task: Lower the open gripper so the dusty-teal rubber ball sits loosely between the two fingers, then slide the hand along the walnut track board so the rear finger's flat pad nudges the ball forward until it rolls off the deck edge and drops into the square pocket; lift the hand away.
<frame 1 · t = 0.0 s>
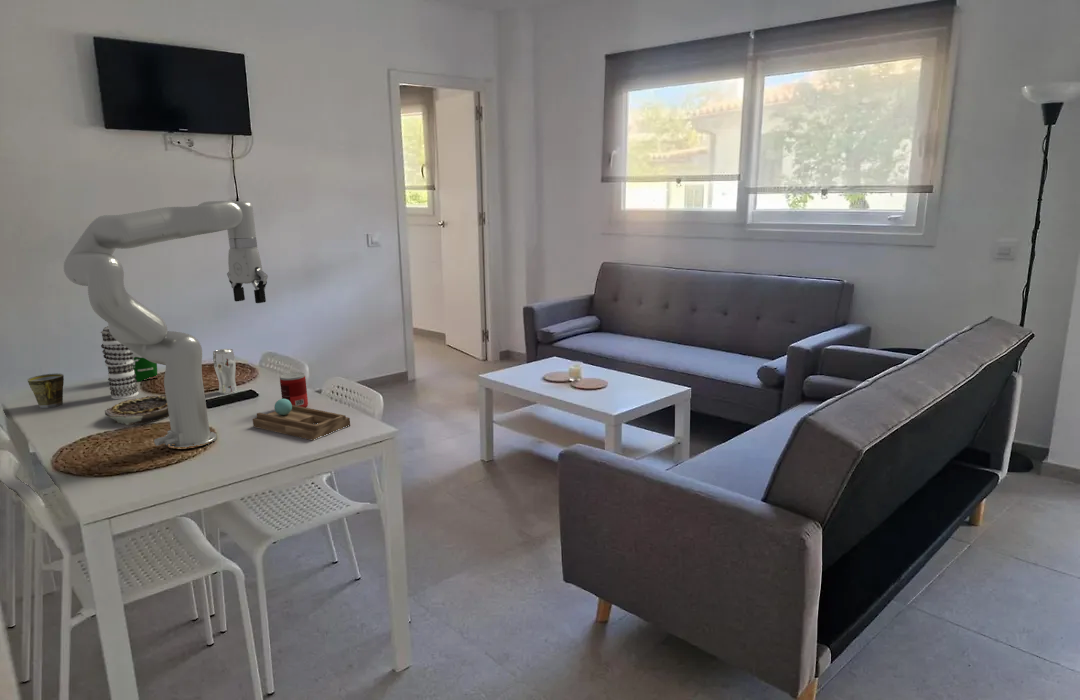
hand: (250, 301, 203), 37 cm above the table, tool pointing down, fingers open, 9 cm apart
ceramic cup: (51, 406, 230), on the table
milk carton: (145, 379, 263), on the table
ball: (283, 406, 205), point 5 cm above the table, touching track board
canned food: (295, 408, 221), on the table
beer glass: (228, 392, 242), on the table
decorative candle: (125, 396, 241), on the table
track board: (301, 426, 203), on the table
pie: (145, 417, 217), on the table
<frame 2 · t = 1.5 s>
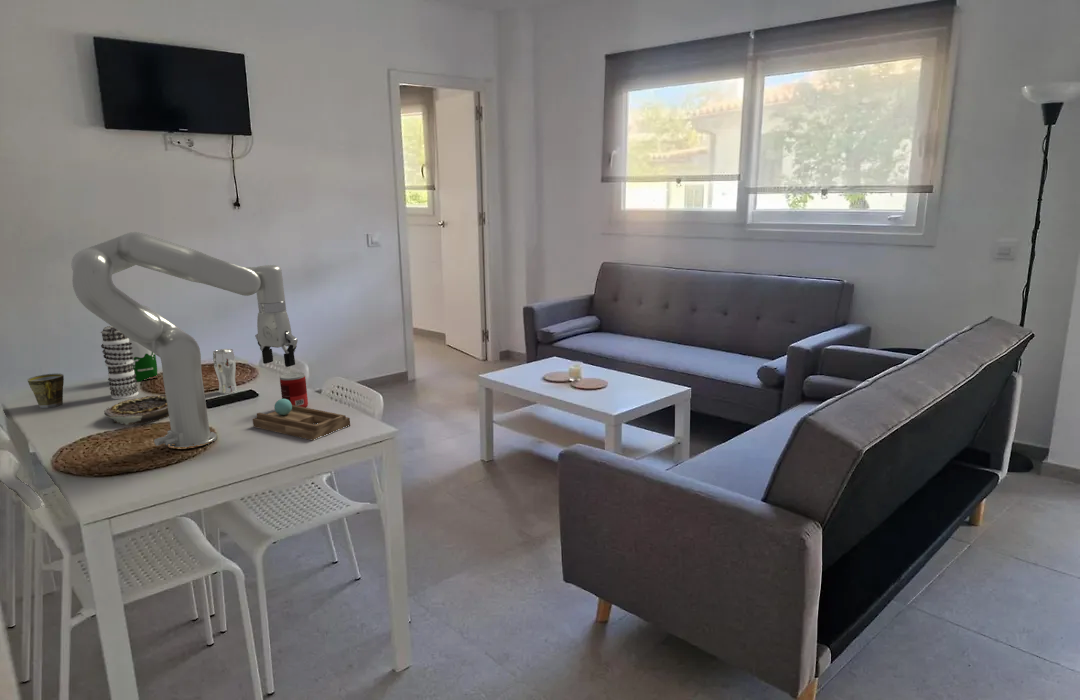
hand: (279, 364, 203), 18 cm above the table, tool pointing down, fingers open, 9 cm apart
nothing on the table moved.
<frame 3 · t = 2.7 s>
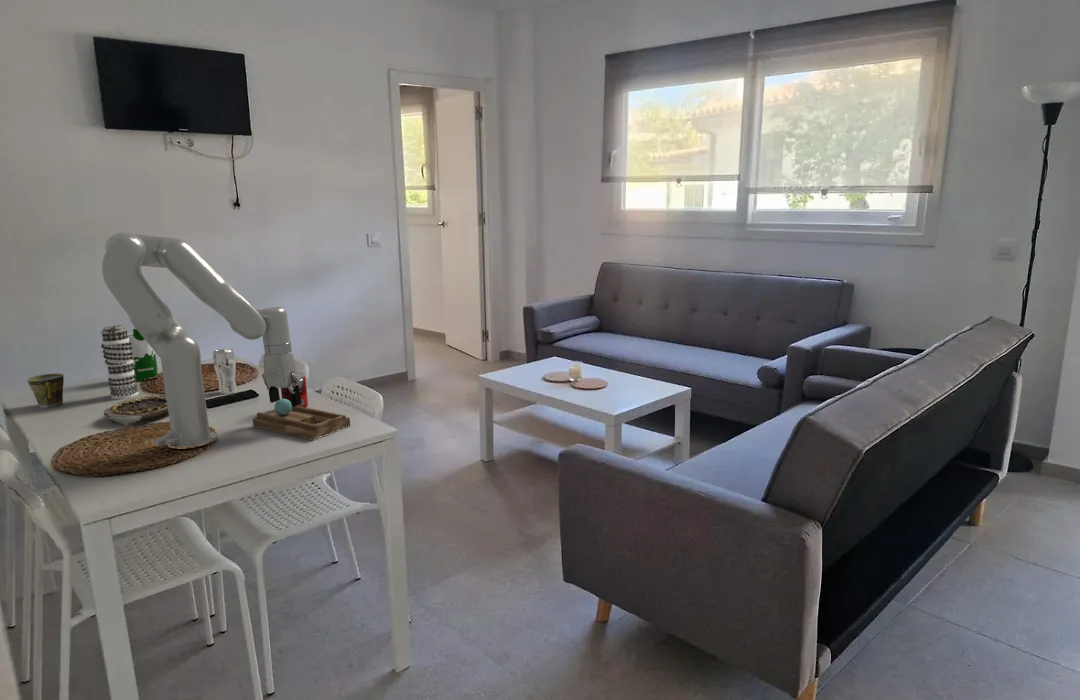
hand: (285, 403, 205), 6 cm above the table, tool pointing down, fingers open, 9 cm apart
nothing on the table moved.
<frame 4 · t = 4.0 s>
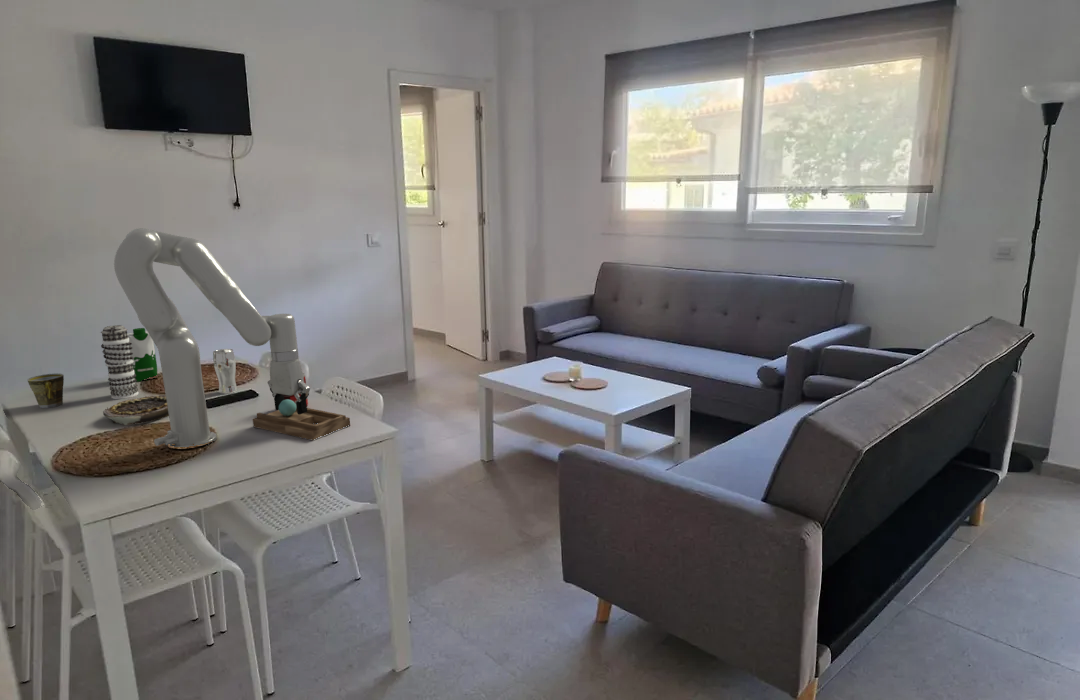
hand: (291, 410, 204), 4 cm above the table, tool pointing down, fingers open, 9 cm apart
ball: (287, 407, 205), point 5 cm above the table, tilted 41°, touching track board
everything else where it was.
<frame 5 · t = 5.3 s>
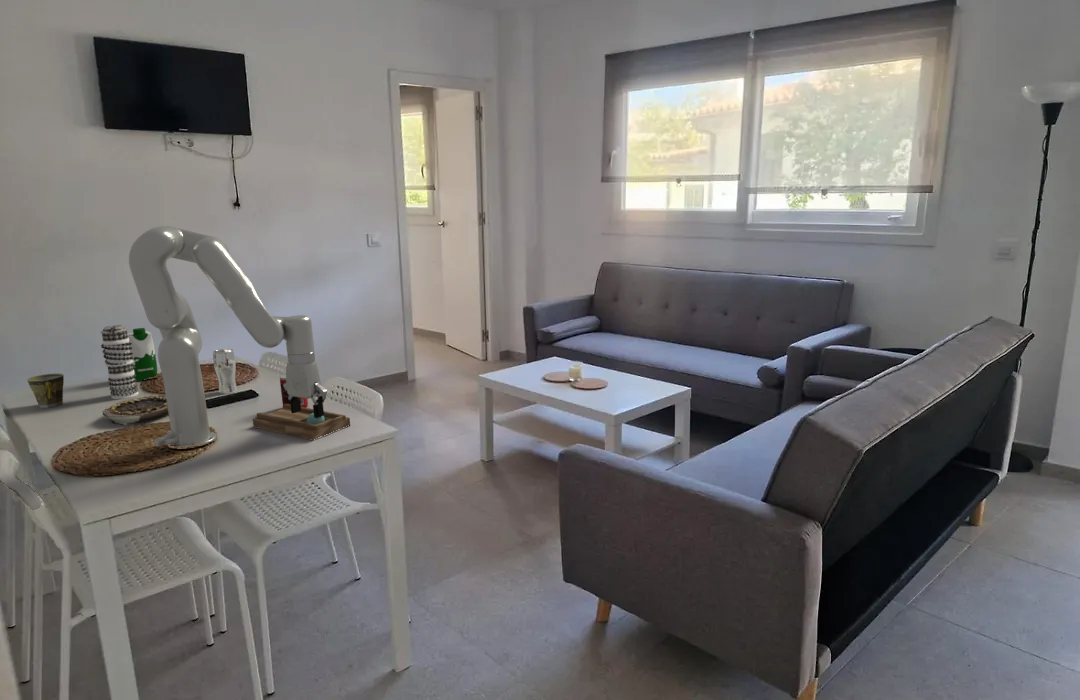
hand: (307, 414, 200), 4 cm above the table, tool pointing down, fingers open, 9 cm apart
ball: (315, 420, 200), point 2 cm above the table, tilted 35°, touching gripper
everything else where it was.
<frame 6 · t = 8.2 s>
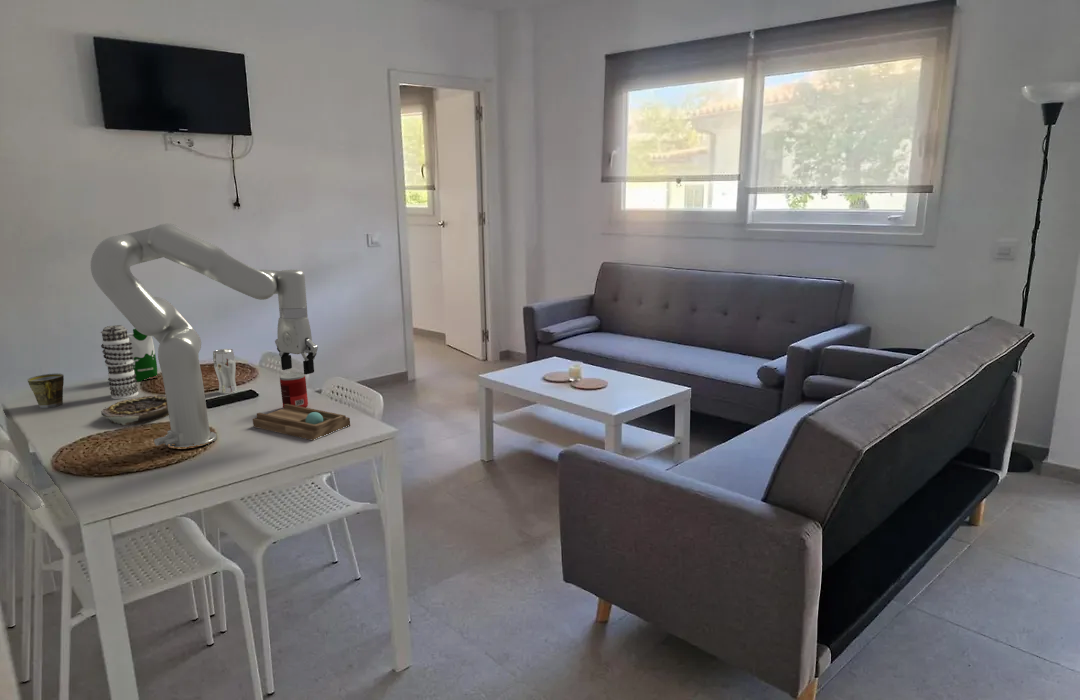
hand: (297, 371, 198), 17 cm above the table, tool pointing down, fingers open, 9 cm apart
ball: (314, 420, 200), point 2 cm above the table, tilted 49°
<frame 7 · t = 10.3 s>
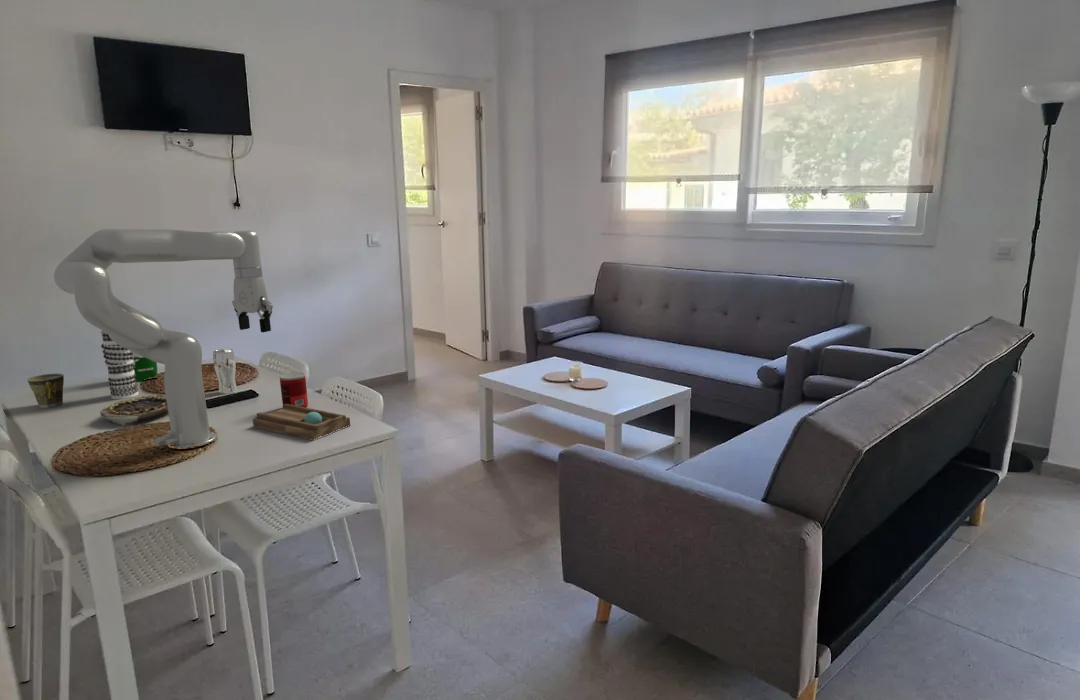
hand: (255, 330, 203), 28 cm above the table, tool pointing down, fingers open, 9 cm apart
ball: (313, 420, 200), point 2 cm above the table, tilted 60°
at the end: ball 0.6 cm from the target spot on the track board, point 2.5 cm above the track board's base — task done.
